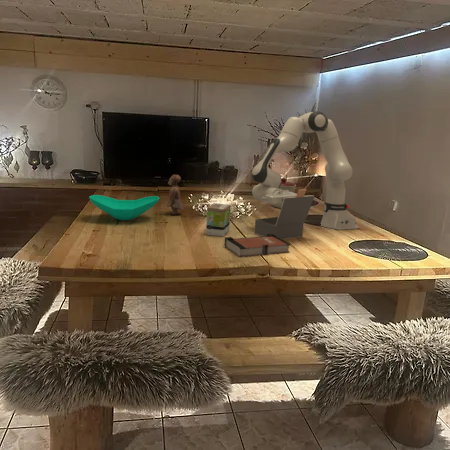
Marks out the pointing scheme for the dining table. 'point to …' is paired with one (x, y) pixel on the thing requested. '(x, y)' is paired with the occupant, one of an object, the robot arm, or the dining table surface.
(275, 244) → the book
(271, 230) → the box
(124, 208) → the table top decor
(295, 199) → the lid
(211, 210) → the tea box
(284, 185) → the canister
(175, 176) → the clay figurine
